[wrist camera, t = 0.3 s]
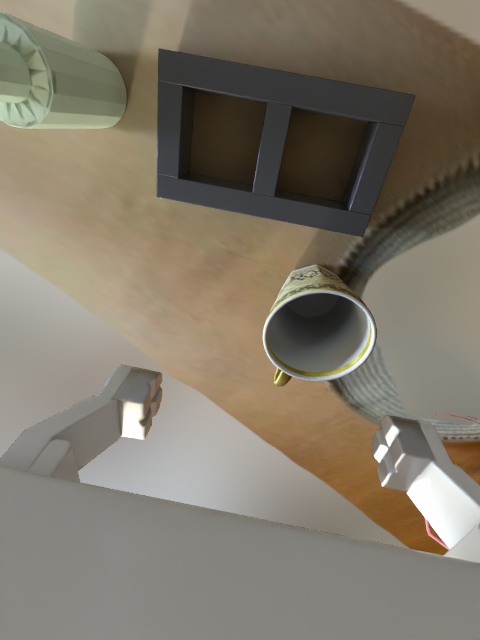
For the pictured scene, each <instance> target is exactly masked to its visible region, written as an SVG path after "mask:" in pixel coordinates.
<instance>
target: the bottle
mask: <svg viewBox="0 0 480 640" xmlns="http://www.w3.org/2000/svg"><path fill="white" fill-rule="evenodd" d="M126 103H127V94H126V87H125V84H124V81H123V78H122V76H121V74H120V72H119V70H118V69H117V67H116V66H115V65H114V63H113V62H112V61H111V60H110V59H108V58H107V57H106V56H104V55H103V54H101V53H99V52H98V51H96V50H93V49H91V48H88V47H86V46H84V45H81V44H79V43H76V42H74V41H72V40H69V39H67V38H64V37H62V36H60V35H57V34H55V33H52V32H50V31H47V30H45V29H43V28H40V27H38V26H35V25H33V24H31V23H28V22H26V21H23V20H21V19H19V18H16V17H14V16H11V15H9V14H7V13H3V12H0V120H1V121H3V122H5V123H6V124H8V125H10V126H14V127H20V128H25V129H104V128H109V127H112V126H114V125H115V124H117V123H118V122H119V121H120V119H121V118H122V116H123V114H124V112H125V109H126Z"/></svg>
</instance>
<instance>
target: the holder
mask: <svg viewBox="0 0 480 640" xmlns="http://www.w3.org/2000/svg"><path fill="white" fill-rule="evenodd" d="M195 91H198V92H204V93H209V94H215V95H220V96H226V97H231V98H236V99H242V100H247V101H253V102H258V103H264V104H267V108H266V114H265V120H264V126H263V132H262V138H261V144H260V150H259V156H258V161H257V167H256V173H255V179H254V185H249V184H244V183H238V182H233V181H228V180H223V179H217V178H212V177H207V176H201V175H196V174H191V173H189V172H190V157H191V141H192V126H193V111H194V95H195ZM414 99H415V95H412V94H406V93H401V92H395V91H390V90H384V89H379V88H373V87H368V86H362V85H357V84H351V83H346V82H340V81H335V80H329V79H324V78H318V77H313V76H307V75H302V74H296V73H291V72H285V71H280V70H274V69H269V68H263V67H258V66H252V65H247V64H241V63H236V62H230V61H225V60H219V59H214V58H208V57H203V56H197V55H192V54H186V53H181V52H175V51H170V50H164V49H159V52H158V125H157V197H158V198H163V199H169V200H174V201H179V202H184V203H189V204H195V205H200V206H205V207H210V208H215V209H221V210H226V211H231V212H236V213H241V214H247V215H252V216H257V217H262V218H267V219H273V220H278V221H283V222H288V223H294V224H299V225H304V226H309V227H314V228H320V229H325V230H330V231H335V232H340V233H346V234H351V235H356V236H361V237H363V236H364V233H365V230H366V228H367V225H368V222H369V220H370V217H371V214H372V212H373V209H374V206H375V204H376V201H377V198H378V196H379V193H380V190H381V187H382V185H383V182H384V179H385V177H386V174H387V171H388V169H389V166H390V163H391V161H392V158H393V155H394V153H395V150H396V147H397V144H398V142H399V139H400V136H401V134H402V131H403V128H404V127H403V126H405V123H406V120H407V118H408V115H409V112H410V110H411V107H412V104H413V102H414ZM292 109H296V110H301V111H307V112H312V113H318V114H323V115H329V116H334V117H339V118H345V119H350V120H356V121H361V122H367V126H366V129H365V132H364V136H363V139H362V142H361V145H360V148H359V151H358V155H357V158H356V161H355V164H354V167H353V170H352V173H351V177H350V180H349V183H348V186H347V189H346V192H345V196H344V199H343V202H338V201H333V200H328V199H322V198H317V197H312V196H307V195H301V194H296V193H291V192H286V191H280V190H276V185H277V180H278V175H279V171H280V166H281V161H282V156H283V151H284V146H285V141H286V136H287V131H288V126H289V122H290V117H291V112H292Z"/></svg>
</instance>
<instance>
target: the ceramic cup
mask: <svg viewBox="0 0 480 640" xmlns="http://www.w3.org/2000/svg"><path fill="white" fill-rule="evenodd" d="M376 338H377V328H376V323H375V320H374V318H373V316H372V314H371V312H370V311H369V309H368V308H367V306H366V305H365V303H364V302H363V301H362V300H361V299H360V298H359V297H358V296H357V295H356V294H355V293H354V292H353V291H352V290H350V289H349V287H348V286H347V285H346V284H345V283H344V282H343V281H342V280H341V279H340V278H339V277H338V276H337V275H336V274H334V273H333V272H331V271H329V270H327V269H325V268H323V267H321V266H319V265H312V266H308V267H304V268H301V269H297V270H294V271H292V272H291V274H290V276H289V277H288V279H287V280H286V282H285V284H284V285H283V287H282V289H281V291H280V293H279V295H278V298H277V300H276V301H275V303H274V305H273V306H272V308H271V310H270V312H269V315H268V317H267V320H266V323H265V326H264V330H263V344H264V348H265V351H266V353H267V355H268V357H269V358H270V360H271V361H272V362H273V364H274V365H275V366H276V367H278V368H277V370H276V373H275V377H274V383H275V384H276V385H278V386H284V385H285V384H286V383H287V382H288V381H289V380H290V379H291V377H295V378H298V379H302V380H307V381H328V380H333V379H337V378H340V377H343V376H345V375H347V374H349V373H351V372H353V371H355V370H356V369H357V368H359V367H360V366H361V365H362V364H363V363H364V362H365V361H366V360H367V359H368V357H369V356H370V354H371V353H372V351H373V349H374V346H375V343H376Z"/></svg>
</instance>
